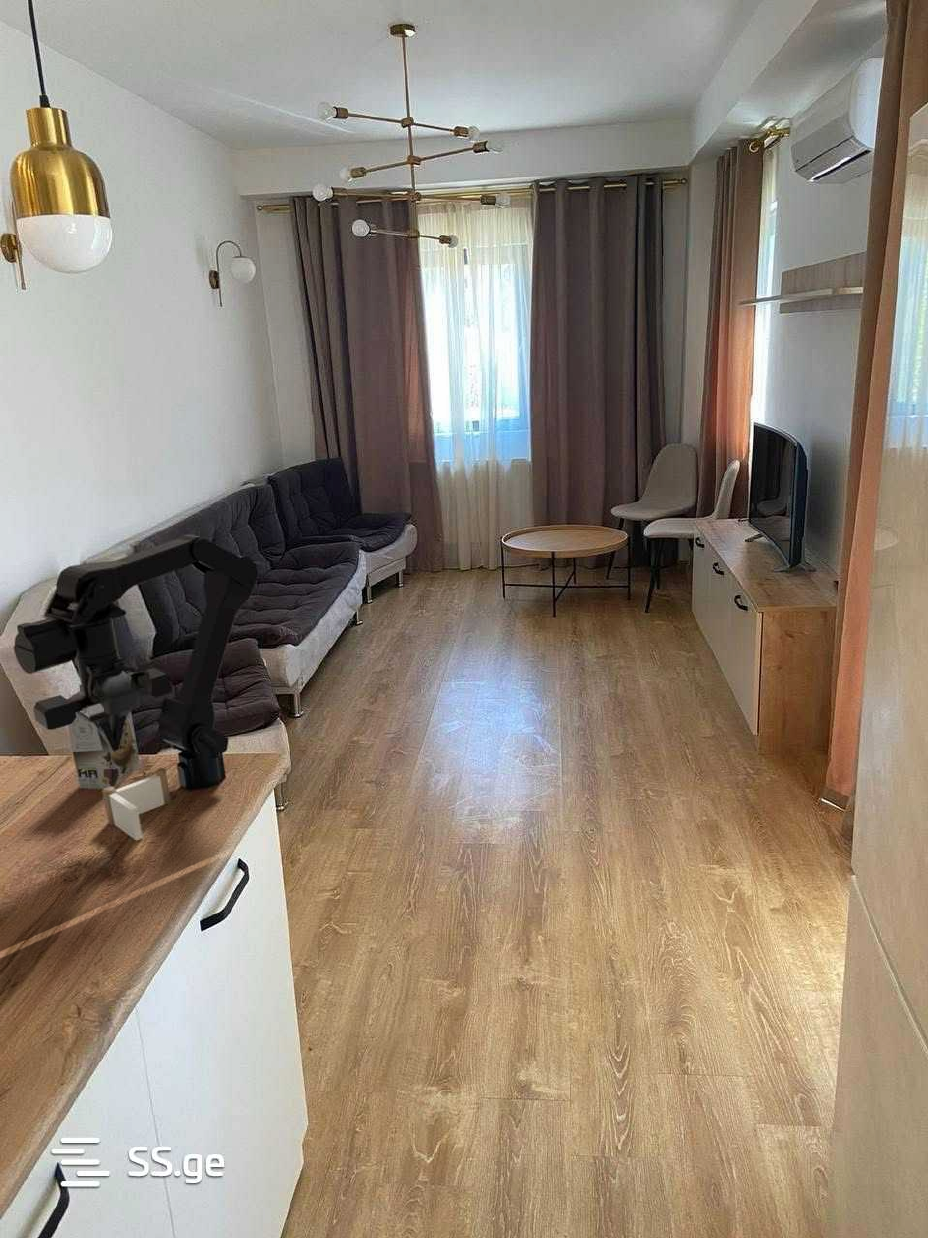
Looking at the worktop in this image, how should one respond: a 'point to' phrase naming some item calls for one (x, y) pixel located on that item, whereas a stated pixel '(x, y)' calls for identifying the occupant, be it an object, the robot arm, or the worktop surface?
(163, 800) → the fence post and panel
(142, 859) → the worktop surface
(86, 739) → the coffee box
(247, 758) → the worktop surface
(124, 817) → the fence gate panel
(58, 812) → the worktop surface
